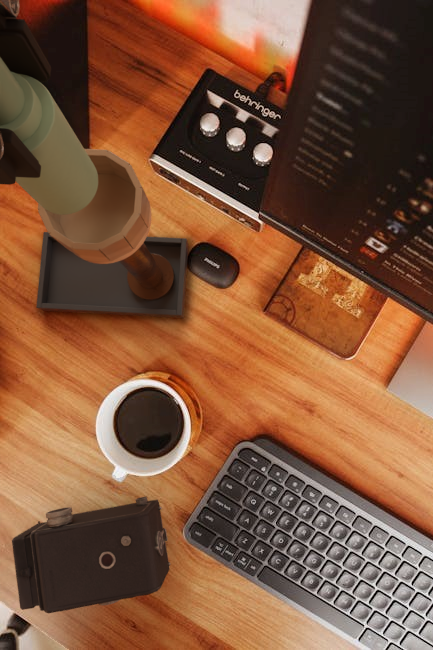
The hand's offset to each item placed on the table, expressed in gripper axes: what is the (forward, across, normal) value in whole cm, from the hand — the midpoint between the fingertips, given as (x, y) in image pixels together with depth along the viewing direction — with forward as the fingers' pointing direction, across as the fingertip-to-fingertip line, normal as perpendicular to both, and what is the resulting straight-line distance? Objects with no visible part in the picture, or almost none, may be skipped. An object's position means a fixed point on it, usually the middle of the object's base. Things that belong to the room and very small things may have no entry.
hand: (15, 120), depth 28 cm
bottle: (+8, 0, 0) cm, 8 cm away
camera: (+40, +30, -2) cm, 51 cm away
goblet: (+39, 0, +1) cm, 39 cm away
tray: (+40, 0, -3) cm, 40 cm away
